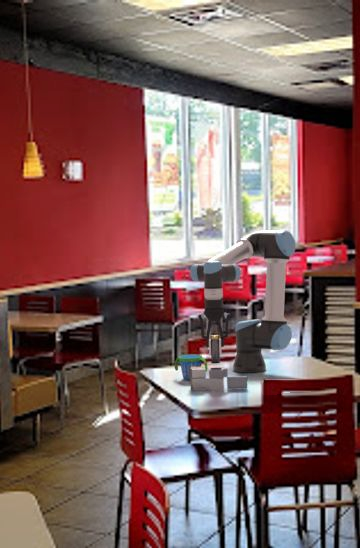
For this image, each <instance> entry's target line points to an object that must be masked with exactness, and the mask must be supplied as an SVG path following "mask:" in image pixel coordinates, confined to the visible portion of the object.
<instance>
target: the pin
mask: <svg viewBox="0 0 360 548" xmlns="http://www.w3.org/2000/svg"><path fill="white" fill-rule="evenodd" d="M210 339H211V356H210V361H211V364H220V363H221V355H220V353H219V339H220V334H219V335H218V334H214V335H213V334H212V335H210Z"/></svg>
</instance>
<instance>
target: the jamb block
mask: <svg viewBox="0 0 360 548" xmlns="http://www.w3.org/2000/svg"><path fill="white" fill-rule="evenodd" d="M192 369H205V366H201V367H191V368H190V377H191V380H190V390H191V391H194V390H193V385H192Z"/></svg>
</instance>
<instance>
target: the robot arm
mask: <svg viewBox="0 0 360 548" xmlns="http://www.w3.org/2000/svg"><path fill="white" fill-rule="evenodd" d="M295 251H296V240H295V238H294V236H293V234H292V233H291V231H288V230H283V229H282V230H281V229H276V230H275V229H274V230H273V229H272V230H271V229H270V230H269V229H268V230H258V231H253V232H251V233H249V234H247V235H245V236H243V237H241V238H240V239H238V240H237V241H236V242H235V244H234V245H232V246H230V247H228V248H227V249H225V250H224V251H222V252H220V253H218V254H217V255H215V256H213V257H211V258H210V259H208V260H207V261H205V262H203V263H195V264H192V265H191V267H190V270H189V275H190V278H191V279H192V281H194V282H200V283H203V282H204V285H203V286H204V289H203V290H204V292H203V293H204V298H205V299H204V310H203V312H202V313H199V314H198V316H197V317H198V320H199V321H200V322H199V324H200V335H201V339H205V346H206V348H208V356H210V357H211V338H210V336H211V335H210V334H211V328H212V322H216V323H217V327H218V332H219V353H220V356H222V348H224V347H225V339H227V338H229V322H230V321H229V319H230V317H231V314H230V313H227V312H225V310H224V299H223V298H224V293H223V292H224V291H223V290H224V289H223V284H225V283H233V282H236V281H238V280H240V278H241V276H242V270H241V268H240V266H239V265H237V263H239V262H241V261H242V260H244V259H246V260H247V259H250V258H252V257H255V256H256V257H257V256H258V257H259V256H260V257H261V256H262V257H263V260H264V262H265V263H266V279H265V281H266V282H265V302H264V304H265V305H264V316H263V317H262V318H261V319H260V318H259V319H249V320H247V319H246V320H242V321H238V322H237V323H236V324H235V347H236V348H235V349H236V350H235V352H236V353H235V354H236V355H235V358H234V361H233V364H232V370H233V371H234V372H236V373H246V374H247V373H258V372H260V373H261V372H264V371H266V370H267V367H266V366H267V364H266V362H265V359H264V356H263V352H262V350H263V349H264V350H271V351H283V350H285V349H286V348H287V347H288V346H289V345H290V343H291V340H292V336H293V332H292V328H291V326H290V325H289V324H288V320H287V319H286V317H284V316H285V299H286V297H285V296H286V295H285V294H286V293H285V292H286V274H287V273H286V271H287V269H286V268H287V263H288V262H290V259H291V256H294V254H295ZM223 316H224V319H225V326H224V331H223V327H222V322H221V319H222V318H223ZM205 317H206V319H207V320H208V323H207V328H206V329H207V330H206V334H205V325H204V324H205V323H204V319H205Z"/></svg>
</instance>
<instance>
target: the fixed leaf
mask: <svg viewBox="0 0 360 548" xmlns="http://www.w3.org/2000/svg"><path fill="white" fill-rule="evenodd" d="M206 373H207V372H206V369H192V385H193V390H192V391H209V392H224V390H225V384H224V383H225V382H224V380H225V379H224V378H225V377H223V378H216V379H209V377H207V375H206Z"/></svg>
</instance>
